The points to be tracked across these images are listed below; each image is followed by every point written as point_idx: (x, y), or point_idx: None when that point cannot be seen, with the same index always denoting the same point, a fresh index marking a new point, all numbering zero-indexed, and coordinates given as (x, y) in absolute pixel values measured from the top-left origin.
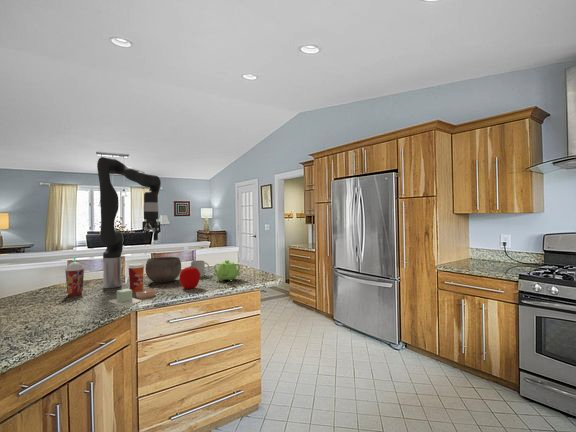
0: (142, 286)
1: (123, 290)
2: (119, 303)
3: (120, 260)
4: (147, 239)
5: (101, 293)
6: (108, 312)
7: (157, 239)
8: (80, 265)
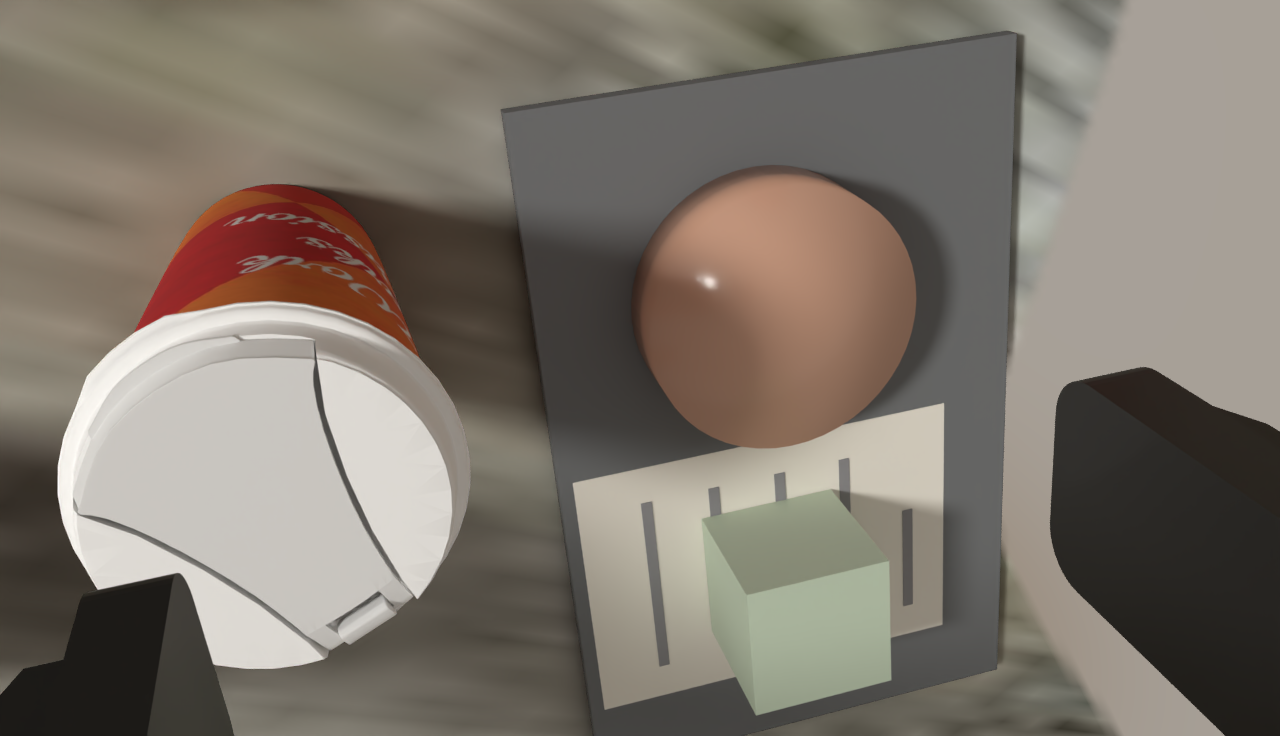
0: (345, 221)
1: (817, 649)
2: None
3: None
4: (205, 669)
5: None
6: (999, 730)
7: (1151, 393)
8: None
